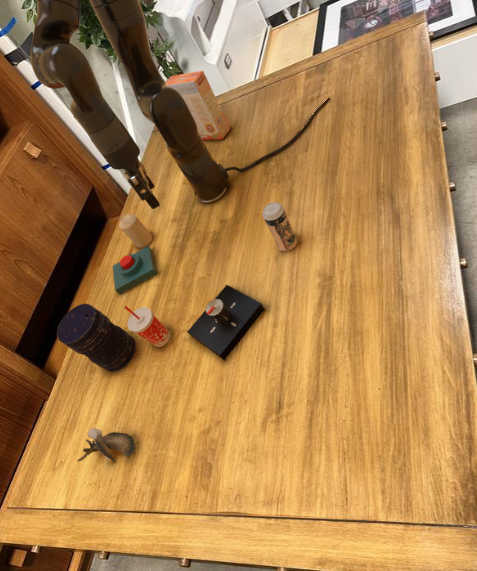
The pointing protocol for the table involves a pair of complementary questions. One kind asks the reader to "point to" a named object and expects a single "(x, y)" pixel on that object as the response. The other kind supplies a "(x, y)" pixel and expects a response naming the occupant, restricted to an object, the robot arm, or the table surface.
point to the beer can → (279, 226)
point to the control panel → (230, 334)
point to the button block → (135, 270)
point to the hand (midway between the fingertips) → (153, 197)
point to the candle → (135, 230)
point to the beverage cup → (148, 326)
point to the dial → (218, 312)
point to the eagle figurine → (109, 444)
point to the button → (127, 262)
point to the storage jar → (96, 338)
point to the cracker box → (201, 104)
